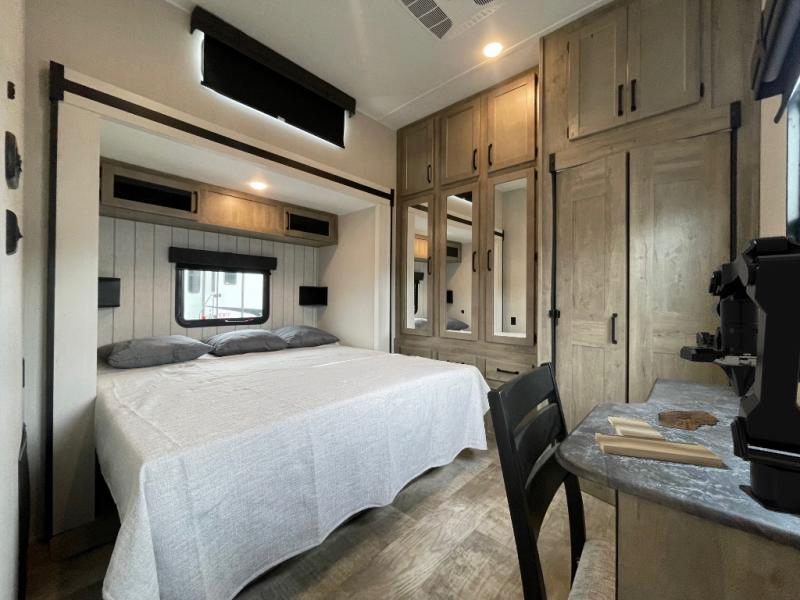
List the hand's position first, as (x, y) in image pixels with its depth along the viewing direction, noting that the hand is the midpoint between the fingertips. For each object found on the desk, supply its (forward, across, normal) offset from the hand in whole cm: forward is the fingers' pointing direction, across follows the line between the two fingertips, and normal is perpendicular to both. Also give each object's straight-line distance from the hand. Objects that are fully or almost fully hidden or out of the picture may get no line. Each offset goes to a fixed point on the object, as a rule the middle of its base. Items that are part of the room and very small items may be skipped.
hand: (740, 396), depth 69 cm
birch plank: (+12, +17, -5) cm, 22 cm away
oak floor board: (+12, +18, +6) cm, 22 cm away
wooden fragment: (+13, 0, -22) cm, 25 cm away
